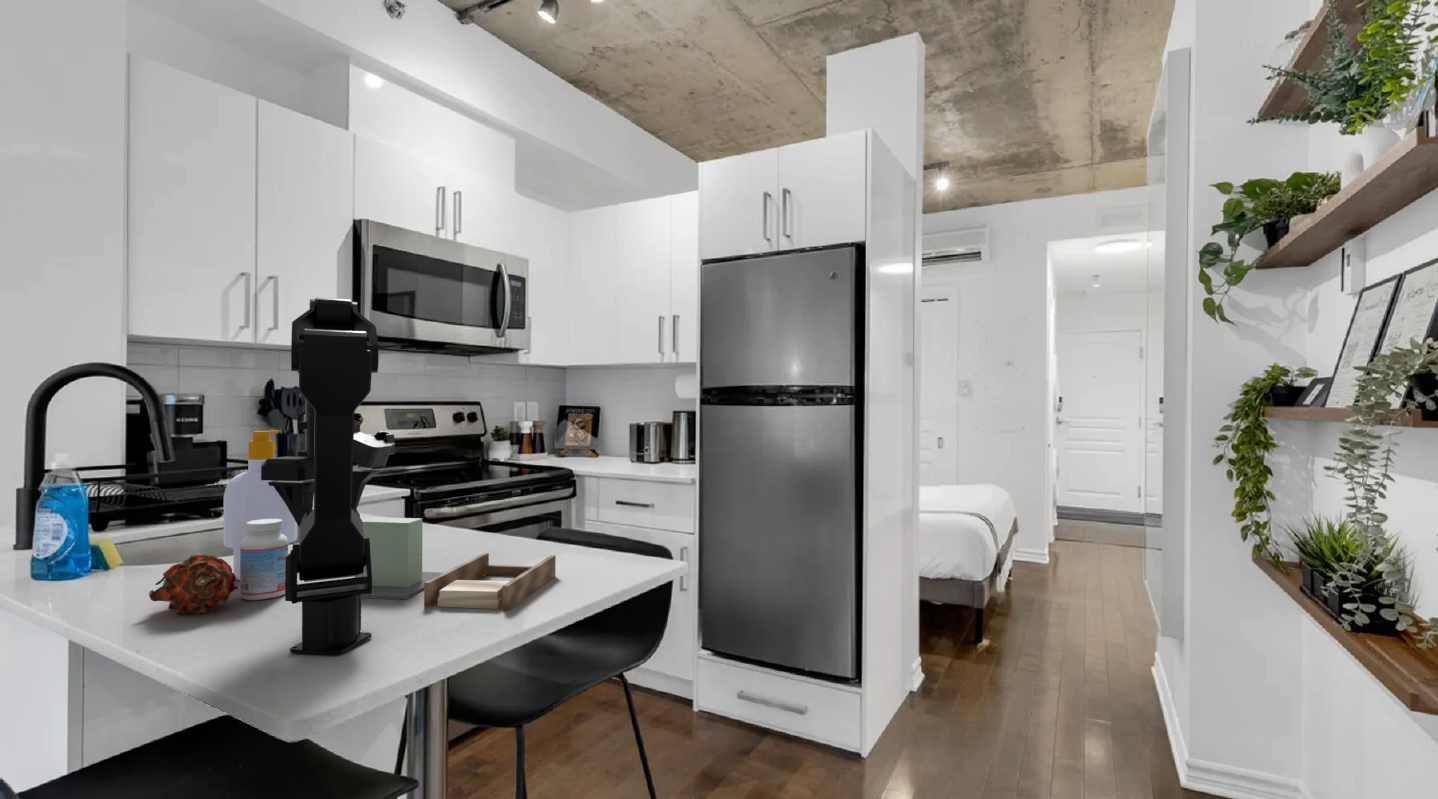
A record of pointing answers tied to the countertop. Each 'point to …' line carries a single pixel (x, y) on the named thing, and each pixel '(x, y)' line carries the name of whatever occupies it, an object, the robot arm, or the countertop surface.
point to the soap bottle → (253, 499)
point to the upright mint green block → (394, 550)
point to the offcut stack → (472, 594)
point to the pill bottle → (263, 560)
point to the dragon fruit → (196, 584)
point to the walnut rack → (479, 567)
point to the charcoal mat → (400, 589)
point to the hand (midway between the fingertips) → (328, 524)
